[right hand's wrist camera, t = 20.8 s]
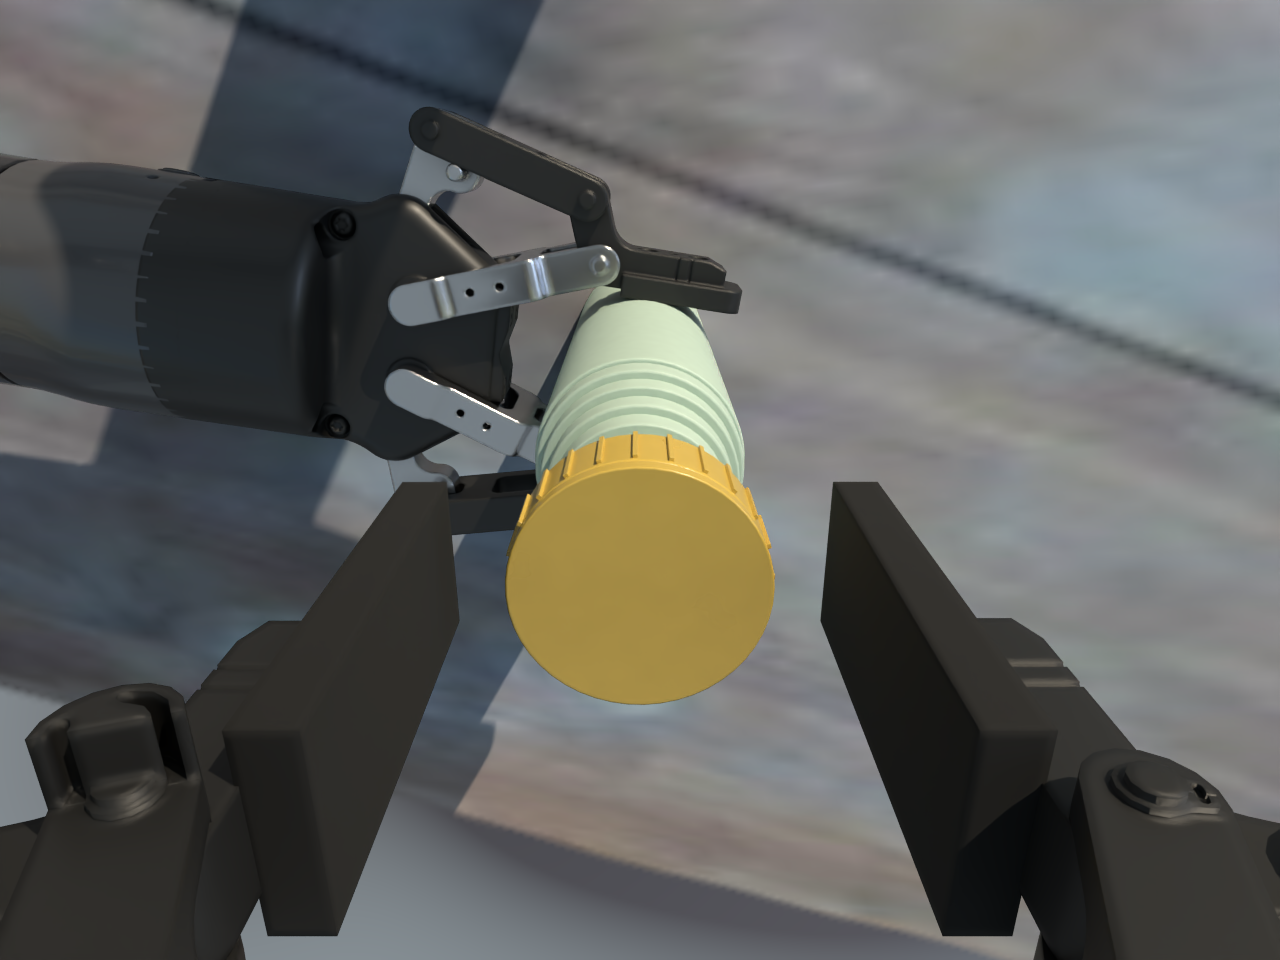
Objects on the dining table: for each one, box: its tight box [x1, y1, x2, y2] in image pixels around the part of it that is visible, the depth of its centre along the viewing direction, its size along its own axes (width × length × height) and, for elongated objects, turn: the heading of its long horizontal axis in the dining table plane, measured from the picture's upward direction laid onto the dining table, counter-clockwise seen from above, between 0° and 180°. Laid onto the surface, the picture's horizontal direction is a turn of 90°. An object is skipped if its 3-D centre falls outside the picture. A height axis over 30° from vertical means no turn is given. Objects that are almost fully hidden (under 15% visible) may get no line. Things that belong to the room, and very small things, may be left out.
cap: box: [505, 431, 775, 705], centre depth 14 cm, size 4×4×2 cm
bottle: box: [535, 286, 745, 484], centre depth 23 cm, size 5×5×21 cm
